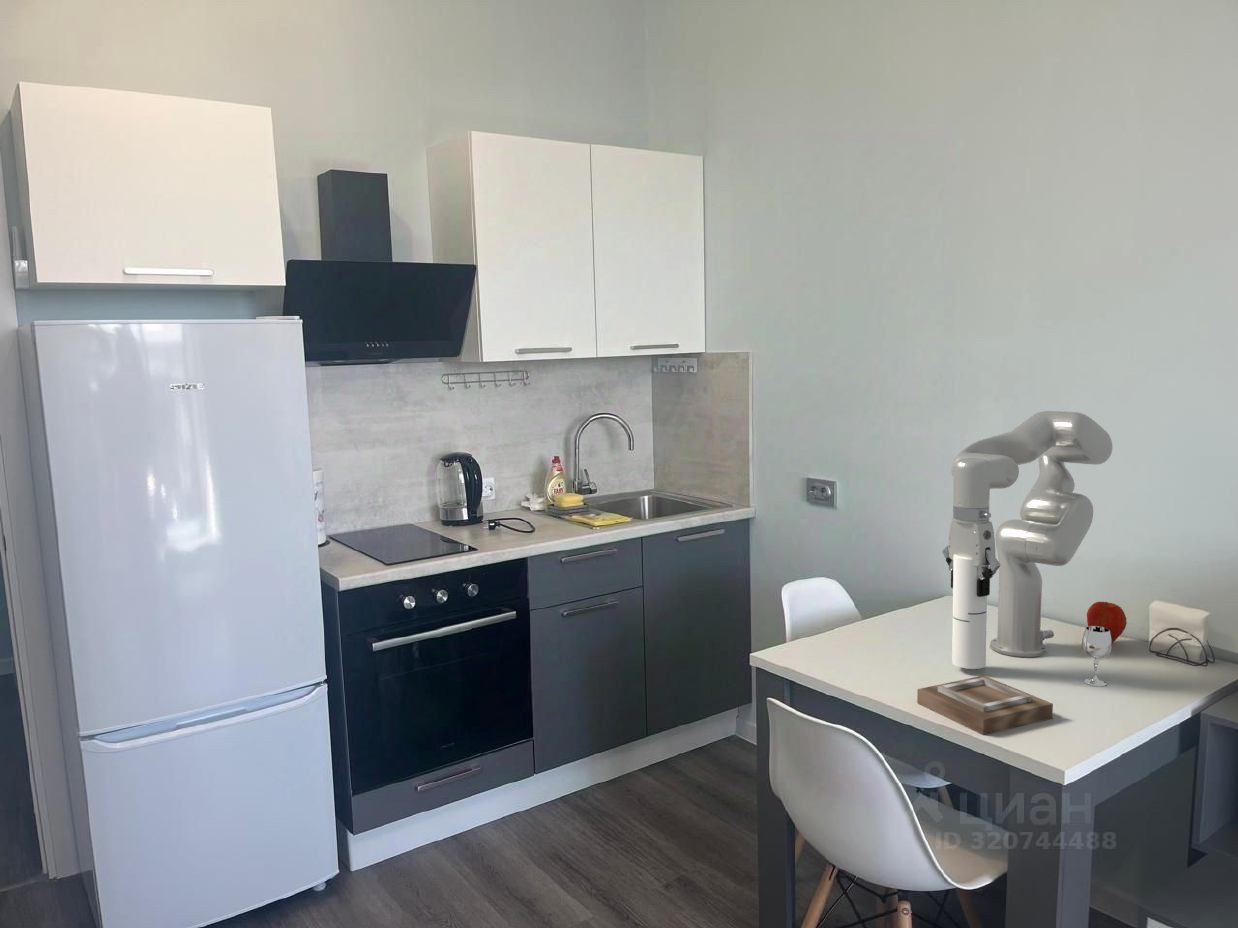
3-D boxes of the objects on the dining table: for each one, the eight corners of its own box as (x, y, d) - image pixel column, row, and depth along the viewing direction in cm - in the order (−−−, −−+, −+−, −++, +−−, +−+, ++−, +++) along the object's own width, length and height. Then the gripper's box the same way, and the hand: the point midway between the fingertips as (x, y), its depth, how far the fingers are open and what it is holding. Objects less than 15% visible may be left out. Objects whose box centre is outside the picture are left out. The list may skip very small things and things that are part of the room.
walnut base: (983, 688, 201) (983, 670, 200) (1052, 718, 185) (1053, 698, 184) (917, 702, 194) (917, 684, 193) (983, 734, 177) (983, 714, 177)
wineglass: (1098, 689, 199) (1100, 634, 198) (1074, 681, 204) (1076, 627, 203) (1116, 684, 202) (1118, 630, 200) (1091, 676, 207) (1094, 623, 206)
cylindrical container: (988, 669, 208) (990, 559, 205) (954, 668, 210) (956, 559, 206) (982, 658, 215) (984, 552, 212) (949, 657, 217) (951, 551, 213)
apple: (1131, 645, 227) (1133, 602, 226) (1113, 652, 222) (1115, 608, 221) (1097, 637, 234) (1098, 595, 233) (1078, 643, 229) (1080, 600, 228)
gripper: (1014, 518, 201) (1012, 598, 204) (955, 506, 217) (954, 580, 219) (988, 522, 198) (986, 603, 201) (930, 509, 214) (929, 585, 216)
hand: (969, 591), depth 210 cm, fingers closed on cylindrical container, 7 cm apart
